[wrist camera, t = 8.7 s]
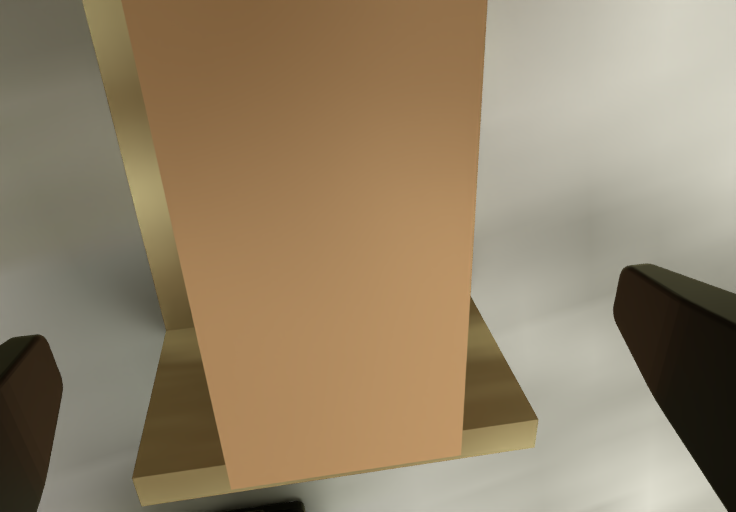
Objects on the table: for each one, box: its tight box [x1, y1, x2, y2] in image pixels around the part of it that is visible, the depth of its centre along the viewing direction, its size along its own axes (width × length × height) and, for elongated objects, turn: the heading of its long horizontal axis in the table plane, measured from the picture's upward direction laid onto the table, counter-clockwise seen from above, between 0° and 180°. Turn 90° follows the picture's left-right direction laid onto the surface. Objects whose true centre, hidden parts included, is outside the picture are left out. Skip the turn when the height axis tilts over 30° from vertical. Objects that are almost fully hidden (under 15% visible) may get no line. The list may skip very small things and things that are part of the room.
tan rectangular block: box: [121, 0, 487, 490], centre depth 14 cm, size 14×6×4 cm, turn 2°
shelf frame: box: [82, 0, 538, 506], centre depth 17 cm, size 18×12×8 cm, turn 2°
